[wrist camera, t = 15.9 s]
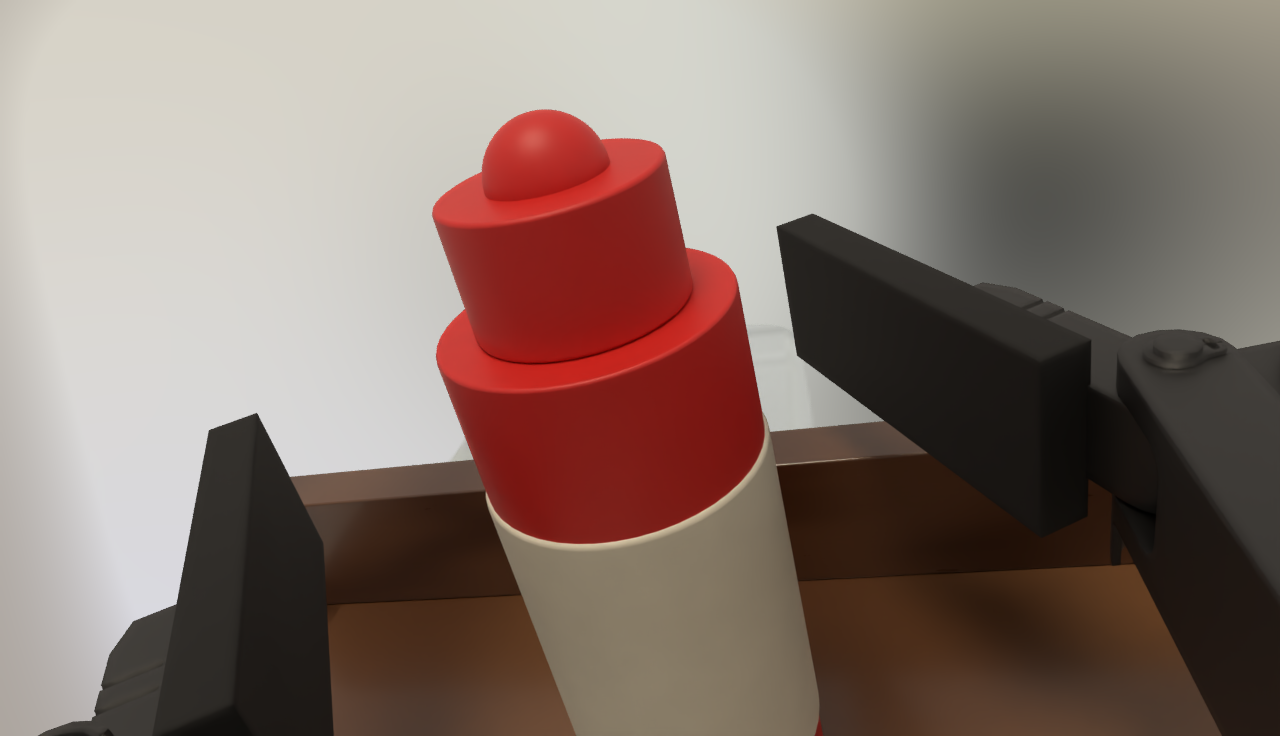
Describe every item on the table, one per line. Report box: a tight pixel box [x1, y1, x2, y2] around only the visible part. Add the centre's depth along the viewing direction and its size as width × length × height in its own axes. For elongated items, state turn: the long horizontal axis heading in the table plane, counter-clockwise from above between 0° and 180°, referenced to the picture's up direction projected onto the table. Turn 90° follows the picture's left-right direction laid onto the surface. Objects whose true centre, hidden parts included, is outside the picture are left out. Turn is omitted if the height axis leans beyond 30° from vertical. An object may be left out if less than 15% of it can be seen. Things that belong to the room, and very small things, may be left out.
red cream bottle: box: [432, 110, 823, 736], centre depth 12 cm, size 4×4×11 cm
